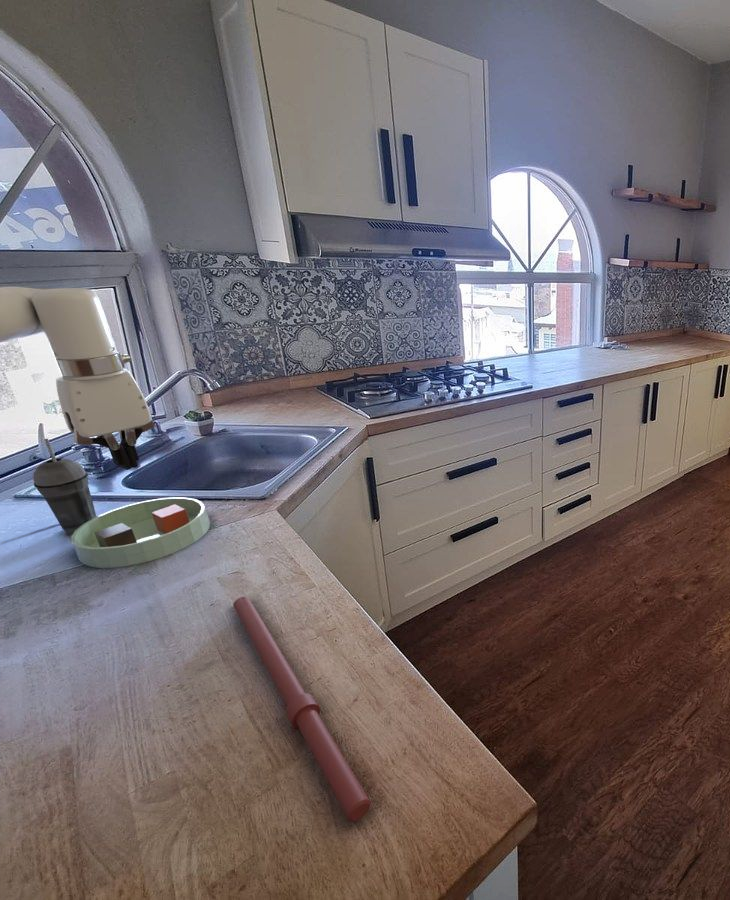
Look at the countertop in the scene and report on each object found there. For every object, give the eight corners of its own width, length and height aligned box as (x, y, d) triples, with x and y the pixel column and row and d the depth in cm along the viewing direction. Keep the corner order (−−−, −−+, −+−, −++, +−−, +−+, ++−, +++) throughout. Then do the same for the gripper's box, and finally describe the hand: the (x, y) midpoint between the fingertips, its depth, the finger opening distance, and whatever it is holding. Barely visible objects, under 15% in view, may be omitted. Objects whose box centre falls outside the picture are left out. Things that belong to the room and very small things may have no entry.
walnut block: (111, 557, 91) (104, 538, 89) (101, 551, 92) (94, 532, 91) (138, 546, 94) (131, 528, 92) (128, 540, 96) (121, 522, 94)
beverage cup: (100, 518, 104) (64, 428, 96) (114, 528, 101) (78, 436, 93) (51, 534, 98) (9, 439, 91) (64, 545, 95) (21, 448, 87)
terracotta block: (167, 535, 98) (161, 517, 96) (157, 530, 99) (151, 512, 98) (191, 526, 101) (185, 509, 100) (180, 521, 103) (175, 504, 101)
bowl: (108, 583, 85) (99, 560, 83) (61, 550, 93) (52, 529, 91) (230, 531, 101) (224, 512, 99) (181, 507, 109) (175, 489, 107)
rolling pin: (377, 810, 52) (373, 790, 51) (346, 833, 50) (341, 813, 49) (255, 605, 81) (250, 590, 80) (232, 615, 79) (227, 599, 77)
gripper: (136, 356, 91) (167, 449, 98) (18, 372, 78) (64, 477, 85) (156, 361, 87) (187, 457, 94) (37, 378, 75) (83, 487, 82)
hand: (128, 466), depth 90 cm, fingers closed
